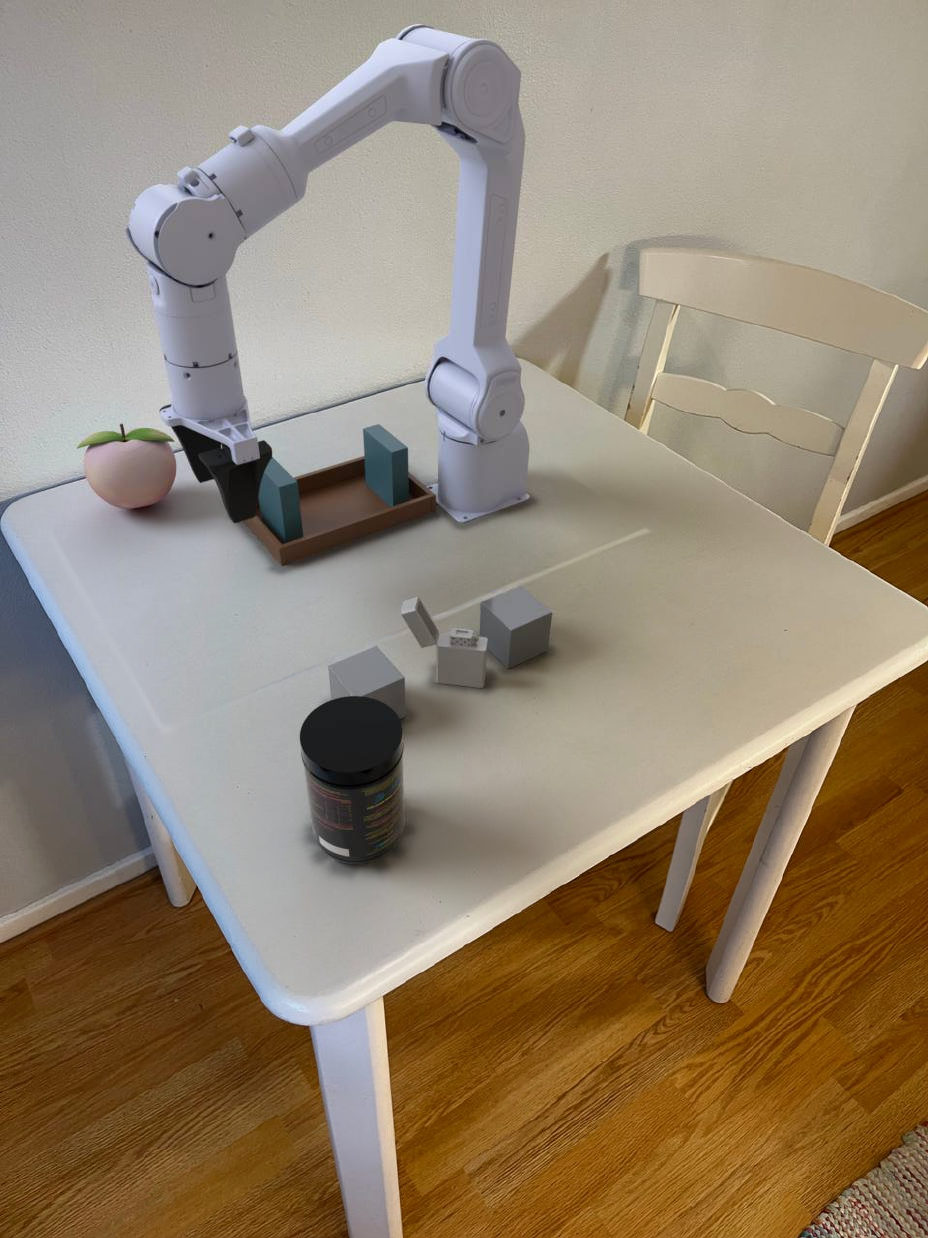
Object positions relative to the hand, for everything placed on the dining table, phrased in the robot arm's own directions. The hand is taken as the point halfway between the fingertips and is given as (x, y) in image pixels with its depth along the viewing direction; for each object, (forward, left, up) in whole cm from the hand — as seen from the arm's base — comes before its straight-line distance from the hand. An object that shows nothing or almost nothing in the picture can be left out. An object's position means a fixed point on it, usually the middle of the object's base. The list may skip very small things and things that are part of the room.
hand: (225, 497), depth 80 cm
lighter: (-10, +21, -10) cm, 25 cm away
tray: (-14, -6, -10) cm, 18 cm away
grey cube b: (-2, +21, -10) cm, 23 cm away
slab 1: (-7, -6, -10) cm, 13 cm away
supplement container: (+4, +31, -10) cm, 33 cm away
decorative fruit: (+3, -18, -10) cm, 21 cm away
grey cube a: (-17, +21, -10) cm, 29 cm away
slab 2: (-20, -6, -10) cm, 23 cm away
